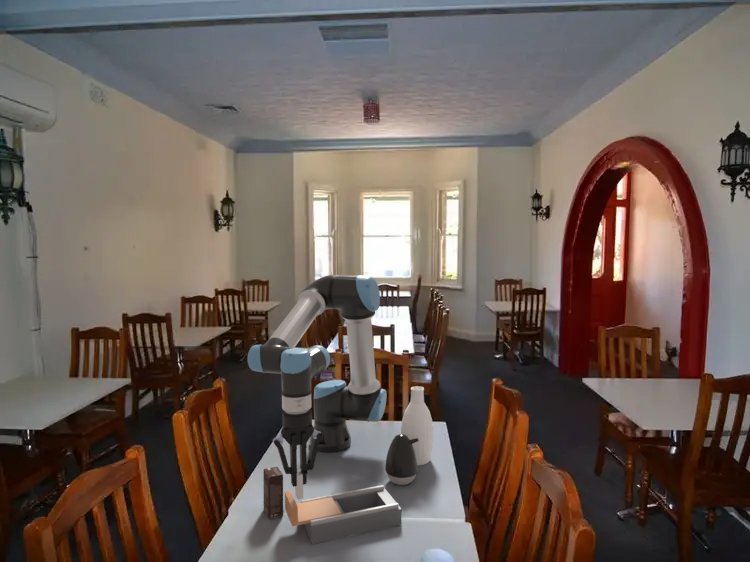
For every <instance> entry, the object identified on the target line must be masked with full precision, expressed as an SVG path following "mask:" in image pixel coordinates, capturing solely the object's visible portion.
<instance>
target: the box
mask: <svg viewBox="0 0 750 562" xmlns="http://www.w3.org/2000/svg"><path fill="white" fill-rule="evenodd" d="M263 512H264V513H265V514H266V517H267V519H269V520H273V519H276V518H279V517H283V516H284V474H283V473H282V471H281V470H280V468H279V467H278V466H273V467H267V468H264V469H263Z"/></svg>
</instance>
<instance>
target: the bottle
mask: <svg viewBox="0 0 750 562" xmlns="http://www.w3.org/2000/svg"><path fill="white" fill-rule="evenodd" d="M424 391H425V388H424V386H418V385H416V386H412V387H410V400H411V402H410V401H409V403H408V405H407V407H406V408H405V410H404V413H403V417H402V420H401V426H400V434H404V435H406V436H408V438H409V439H410V440H411V439H415V438H418V442H415V443H413V444H412V445H413V447H414V450H415V454H416V458H417V465H418V466H425V465H427V464H428V463H429V462H430V461H431V458H432V451H433V446H434V445H433V444H434V425H433V419H432V415H431V411H430V409H429V408H428V406H427V405H426V403H425V396H424V395H425V394H424V393H425V392H424Z"/></svg>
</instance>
